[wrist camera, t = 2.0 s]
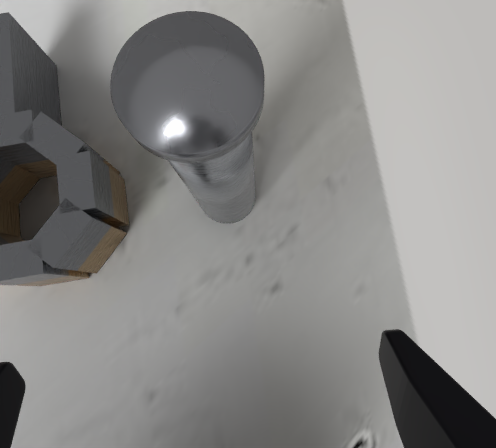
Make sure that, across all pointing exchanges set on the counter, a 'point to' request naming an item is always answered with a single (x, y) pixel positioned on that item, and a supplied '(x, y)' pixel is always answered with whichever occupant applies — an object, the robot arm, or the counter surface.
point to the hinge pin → (195, 104)
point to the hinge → (49, 174)
